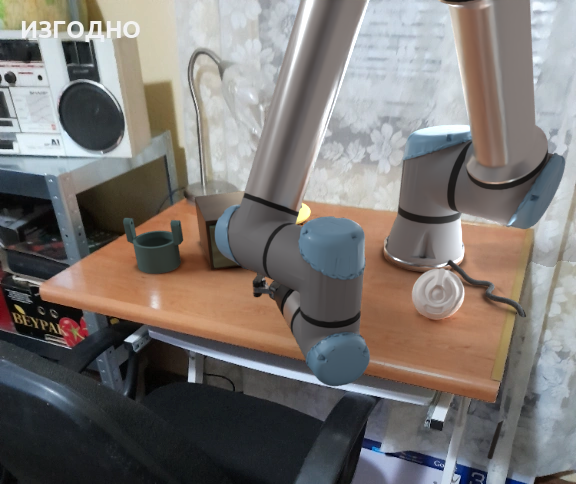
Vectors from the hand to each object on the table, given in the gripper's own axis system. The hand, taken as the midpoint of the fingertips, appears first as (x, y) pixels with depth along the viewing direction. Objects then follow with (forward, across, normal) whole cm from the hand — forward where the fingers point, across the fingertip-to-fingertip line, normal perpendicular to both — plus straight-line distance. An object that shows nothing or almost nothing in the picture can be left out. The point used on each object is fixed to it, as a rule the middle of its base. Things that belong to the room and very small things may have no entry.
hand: (267, 242), depth 94 cm
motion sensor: (-21, +22, -7) cm, 32 cm away
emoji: (+25, +10, -7) cm, 27 cm away
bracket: (+12, -19, -7) cm, 23 cm away
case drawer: (+10, -4, -6) cm, 12 cm away
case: (+13, -4, -7) cm, 15 cm away
